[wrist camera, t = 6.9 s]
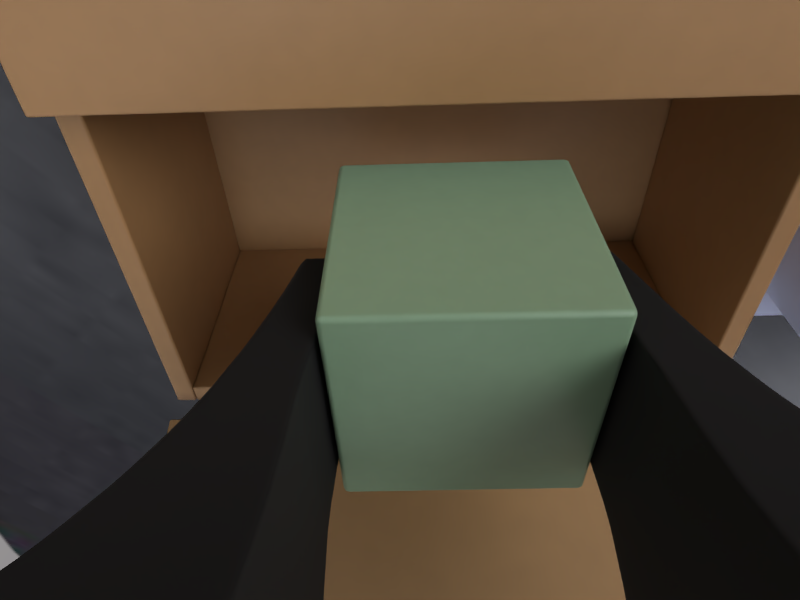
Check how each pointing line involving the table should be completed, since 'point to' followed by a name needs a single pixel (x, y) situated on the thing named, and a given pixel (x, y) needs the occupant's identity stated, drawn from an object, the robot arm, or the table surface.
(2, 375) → the table surface
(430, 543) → the flap
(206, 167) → the carton
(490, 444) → the cube
